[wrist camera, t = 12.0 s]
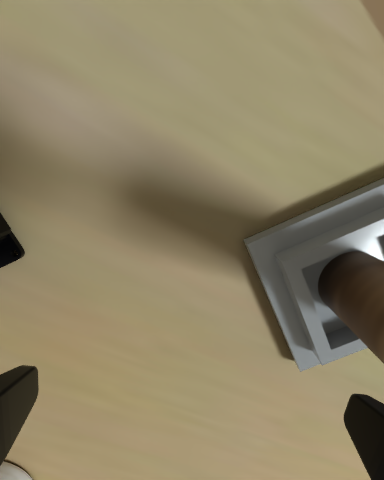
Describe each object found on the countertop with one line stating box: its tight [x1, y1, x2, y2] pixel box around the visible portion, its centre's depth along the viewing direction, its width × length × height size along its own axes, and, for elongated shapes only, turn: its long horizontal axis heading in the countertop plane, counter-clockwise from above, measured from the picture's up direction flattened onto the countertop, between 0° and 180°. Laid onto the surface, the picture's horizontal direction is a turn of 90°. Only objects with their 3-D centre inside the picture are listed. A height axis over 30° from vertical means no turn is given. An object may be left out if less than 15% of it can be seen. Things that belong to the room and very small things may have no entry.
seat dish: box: [244, 178, 384, 372], centre depth 20 cm, size 12×12×3 cm
